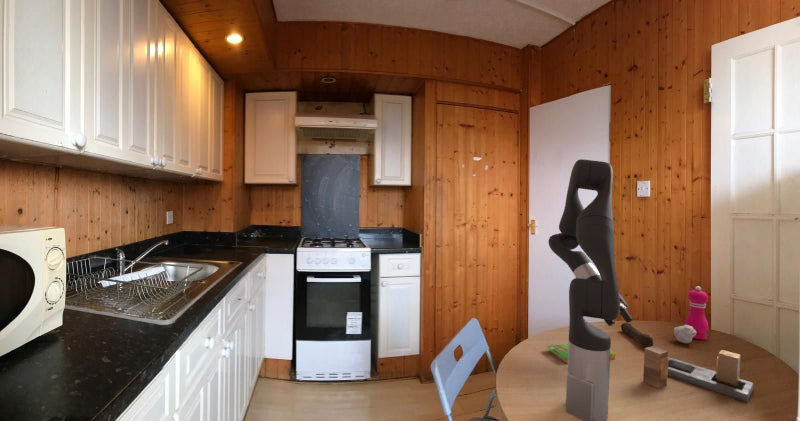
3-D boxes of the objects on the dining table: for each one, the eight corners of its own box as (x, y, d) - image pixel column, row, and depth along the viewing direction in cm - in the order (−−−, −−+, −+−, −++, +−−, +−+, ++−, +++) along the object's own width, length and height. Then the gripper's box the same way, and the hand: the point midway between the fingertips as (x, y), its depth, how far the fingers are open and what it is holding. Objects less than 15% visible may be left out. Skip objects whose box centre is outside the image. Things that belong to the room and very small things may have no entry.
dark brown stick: (620, 331, 141) (620, 320, 141) (631, 332, 140) (631, 321, 140) (643, 351, 122) (643, 339, 122) (655, 353, 122) (656, 340, 122)
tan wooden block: (659, 389, 98) (661, 354, 97) (643, 381, 102) (644, 348, 101) (668, 386, 99) (669, 352, 99) (651, 378, 103) (653, 345, 103)
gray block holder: (752, 389, 98) (754, 355, 98) (746, 402, 92) (748, 365, 92) (666, 362, 114) (668, 332, 113) (656, 371, 108) (658, 339, 107)
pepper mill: (699, 341, 132) (701, 289, 131) (679, 333, 139) (681, 284, 138) (712, 339, 134) (715, 288, 133) (692, 332, 141) (695, 283, 140)
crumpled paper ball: (690, 348, 126) (691, 329, 125) (669, 340, 132) (669, 322, 132) (699, 345, 128) (700, 326, 128) (678, 338, 134) (679, 320, 134)
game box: (615, 362, 116) (562, 364, 111) (593, 350, 125) (543, 351, 121) (616, 353, 116) (563, 355, 111) (594, 341, 125) (544, 343, 121)
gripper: (582, 274, 114) (614, 320, 104) (611, 271, 120) (644, 314, 110) (568, 286, 120) (597, 331, 109) (597, 283, 125) (627, 325, 115)
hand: (621, 323), depth 110 cm, fingers open, 8 cm apart
